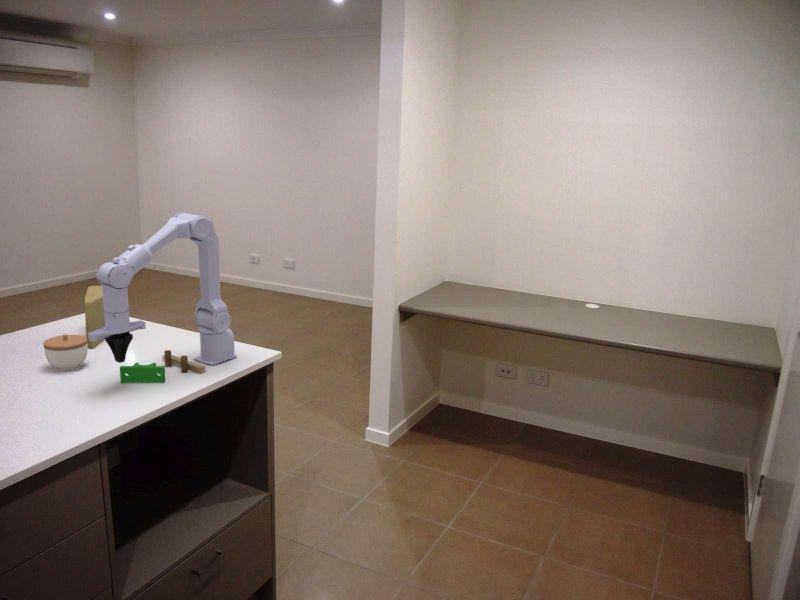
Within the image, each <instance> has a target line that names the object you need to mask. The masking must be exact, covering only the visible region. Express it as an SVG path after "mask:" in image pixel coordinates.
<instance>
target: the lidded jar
mask: <svg viewBox="0 0 800 600" xmlns="http://www.w3.org/2000/svg"><path fill="white" fill-rule="evenodd" d="M87 342H88V340H87V338H86V335H85V336H84V335H81V334H66V333H65V334H62V335H57V336H53V337H50V338H47V339H46V340H44V341H43V343H42V344H43V349H44V355H45V358H46V360H47V362H48V363H49V364H50V365H51V366H52V367H53V368H54V369H55V370H57V371H60V370H67V371H73V370H76V369H79V368H80V367H81V365H82V364H83V363H84V362H85V360H86V358H87V356H88V350H89V348H88V344H87ZM79 366H80V367H79ZM78 367H79V368H78ZM75 368H76V369H75ZM72 369H73V370H72Z"/></svg>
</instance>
